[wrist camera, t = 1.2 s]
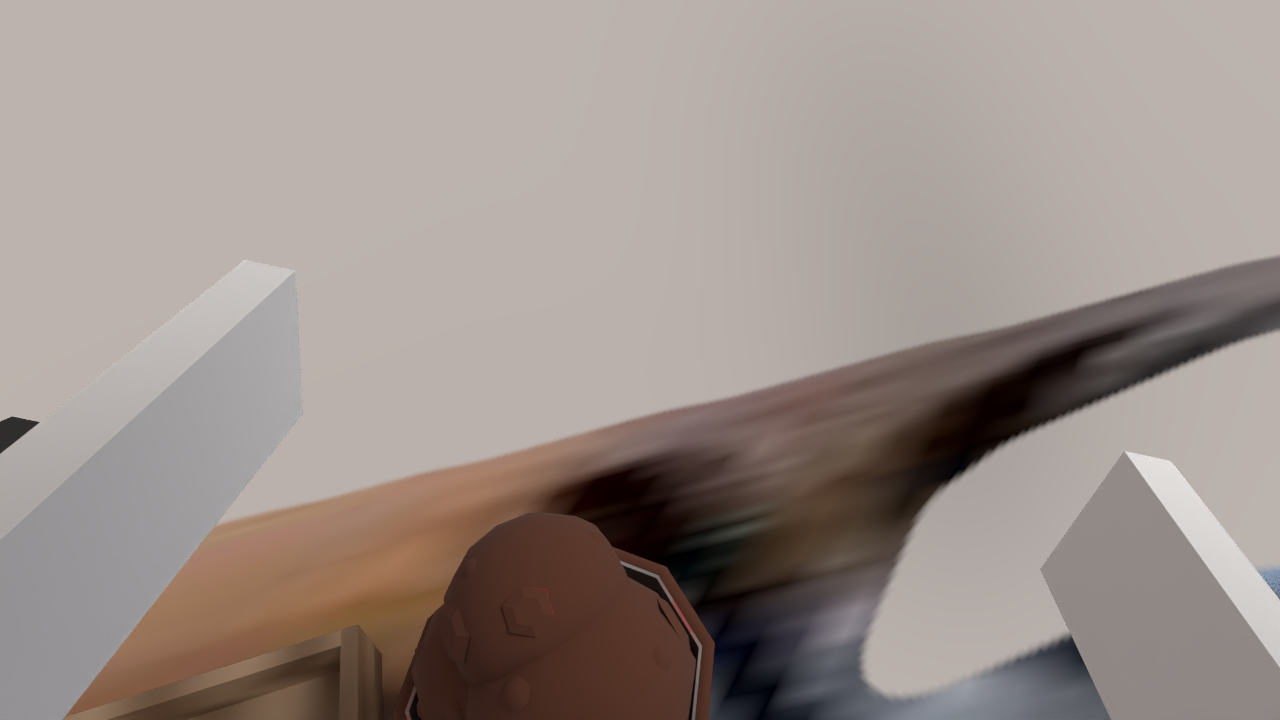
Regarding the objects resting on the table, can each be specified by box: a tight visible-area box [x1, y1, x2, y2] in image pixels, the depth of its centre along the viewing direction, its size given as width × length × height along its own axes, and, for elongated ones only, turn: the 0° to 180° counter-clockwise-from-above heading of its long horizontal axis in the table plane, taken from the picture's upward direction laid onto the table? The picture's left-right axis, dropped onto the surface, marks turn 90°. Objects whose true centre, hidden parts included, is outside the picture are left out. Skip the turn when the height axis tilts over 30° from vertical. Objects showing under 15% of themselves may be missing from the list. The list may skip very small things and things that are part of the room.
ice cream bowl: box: [392, 513, 715, 720], centre depth 27 cm, size 11×11×15 cm
